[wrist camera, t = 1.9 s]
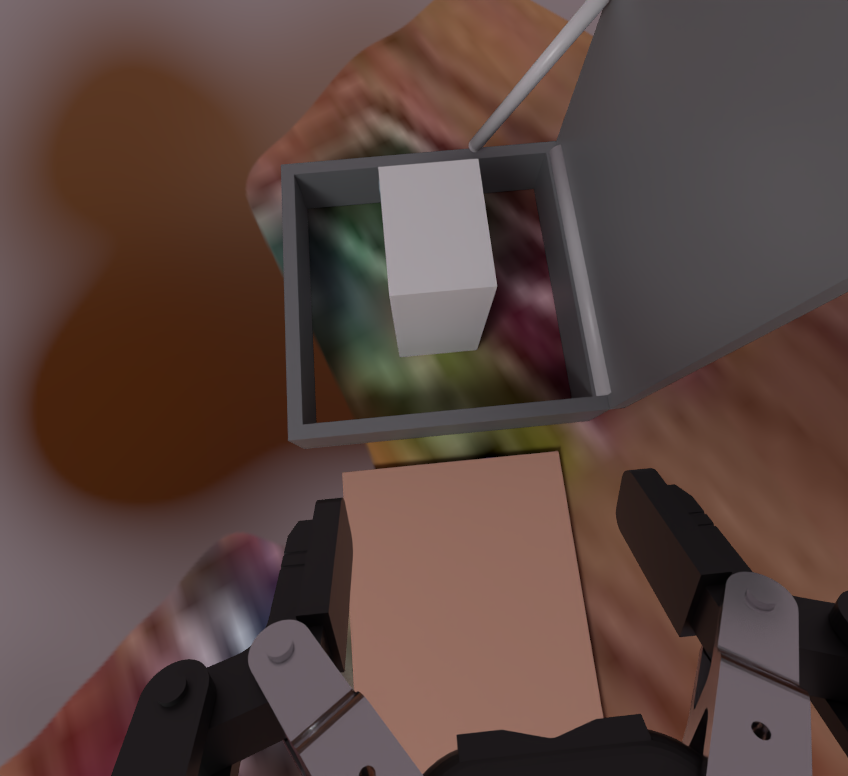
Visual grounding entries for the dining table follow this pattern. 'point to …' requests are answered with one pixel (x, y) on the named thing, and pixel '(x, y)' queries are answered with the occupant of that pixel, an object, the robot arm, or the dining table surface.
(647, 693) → the dining table surface
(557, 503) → the terracotta mat
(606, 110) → the equipment case
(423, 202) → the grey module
